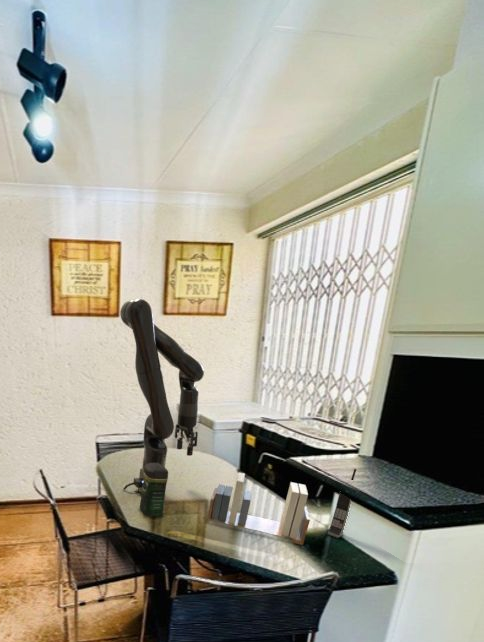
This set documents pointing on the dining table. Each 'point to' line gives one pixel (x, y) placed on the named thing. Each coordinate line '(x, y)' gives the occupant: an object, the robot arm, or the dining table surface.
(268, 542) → the dining table surface
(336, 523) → the vintage mobile phone
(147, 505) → the coffee jar
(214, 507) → the grey books
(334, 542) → the dining table surface
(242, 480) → the white book
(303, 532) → the book shelf
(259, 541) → the dining table surface
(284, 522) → the white books
